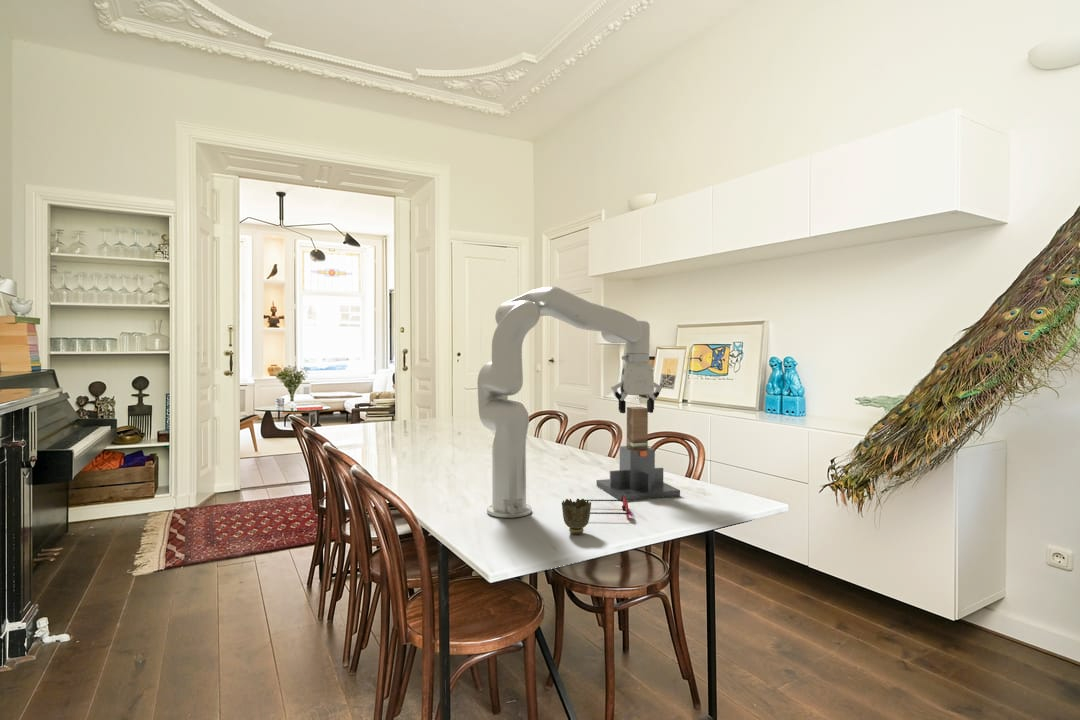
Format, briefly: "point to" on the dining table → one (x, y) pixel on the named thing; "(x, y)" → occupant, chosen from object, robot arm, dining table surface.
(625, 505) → the glasses
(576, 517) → the cup
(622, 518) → the dining table surface
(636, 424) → the column
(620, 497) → the stand
